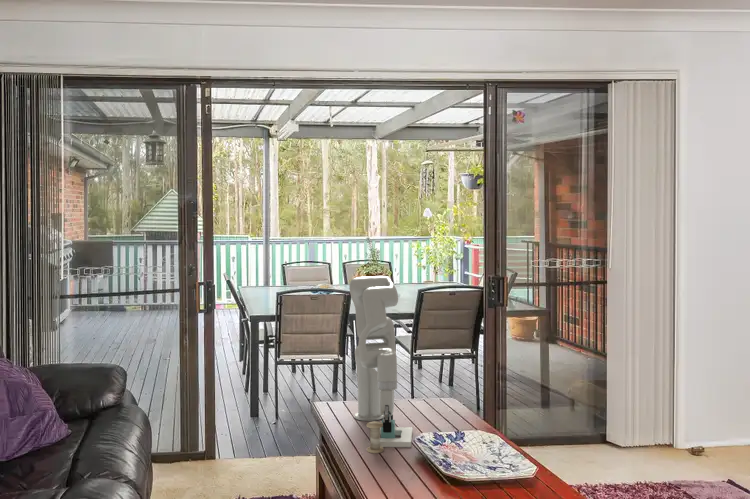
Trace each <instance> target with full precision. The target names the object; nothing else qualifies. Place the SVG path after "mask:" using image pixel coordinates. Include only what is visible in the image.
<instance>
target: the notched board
mask: <svg viewBox="0 0 750 499" xmlns="http://www.w3.org/2000/svg"><path fill="white" fill-rule="evenodd" d="M413 432H414V430H413V427H412V426H411V427H410V426H405V427H403V426H395V436H400V437H399V438H396V437H395V438H381V437H380V446H381V447H383V448H412V441H413ZM380 436H381V428H380Z"/></svg>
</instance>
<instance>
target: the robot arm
mask: <svg viewBox="0 0 750 499" xmlns="http://www.w3.org/2000/svg"><path fill="white" fill-rule="evenodd" d="M349 293H350V294H349V295H350V297H351V300H352V302H353V305H354V309H355V325H356V326H355V327H356V334H357V337H358V345H356V347H355V349H354V358H355V359H354V360H355V364H356V376H357V412H356V413H354V418H355V420H358V421H362V422H374V421H376V422H377V421H379V420H383V432H384V433H391V432H392V426H391V420H394V408H395V390H397V389H398V368H397V367H398V364H397V363H398V360H397V359H398V357H397V347H396V336H395V334H396V332H395V325H394V321H393V319H392V318H390V317H389V316H387V311H386V307H387V308H388V307H389V308H391V307H395V306H397V305H398V304H399V293H398V291H397V287H396V286H395V284H394V282H393V280H392V279H391V278H390V277H389V276H388V275H375V276H374V275H373V276H371V275H370V276H366V275H365V276H357V277H354V278H352V279H350V281H349ZM372 340H373V341H375V340H382V341H383V342H368V343H367V341H372Z"/></svg>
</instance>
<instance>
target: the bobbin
mask: <svg viewBox="0 0 750 499" xmlns="http://www.w3.org/2000/svg"><path fill="white" fill-rule="evenodd" d="M381 427H383V423H382V421H377V420H376V421H367V423H366V428H369V440H370V442H369V443H370V445H369V446H368V447H367V448H366V452H368V453H370V454H380V453H383V452H384V447H381V446H380V438H381V435H380V428H381Z"/></svg>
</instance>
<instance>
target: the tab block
mask: <svg viewBox="0 0 750 499" xmlns="http://www.w3.org/2000/svg"><path fill="white" fill-rule="evenodd" d="M381 422H382V423H383V419H381ZM391 426H392V432H391V433H384V432H383V427H381V435H380V438H396V435H395V427H396V419H393V420H391Z"/></svg>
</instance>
